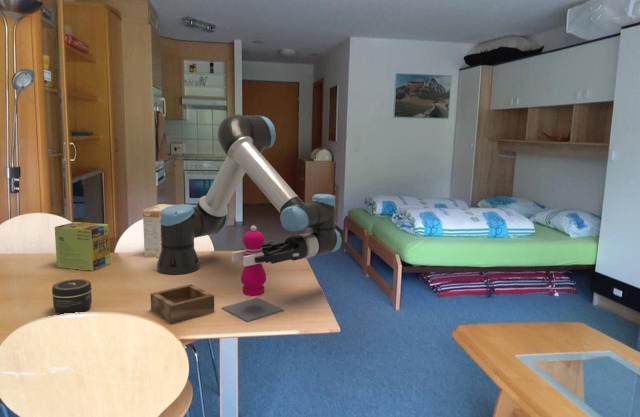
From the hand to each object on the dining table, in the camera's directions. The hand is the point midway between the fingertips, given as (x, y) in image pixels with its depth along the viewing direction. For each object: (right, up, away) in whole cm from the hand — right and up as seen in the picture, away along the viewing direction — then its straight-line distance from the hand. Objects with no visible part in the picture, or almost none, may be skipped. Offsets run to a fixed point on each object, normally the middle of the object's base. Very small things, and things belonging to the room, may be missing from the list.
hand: (238, 259), depth 135 cm
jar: (-48, -15, +3) cm, 50 cm away
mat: (+3, -15, +6) cm, 17 cm away
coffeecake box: (-43, -4, +66) cm, 79 cm away
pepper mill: (+4, -10, +5) cm, 12 cm away
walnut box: (-17, -15, +4) cm, 23 cm away
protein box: (-65, -7, +45) cm, 80 cm away
